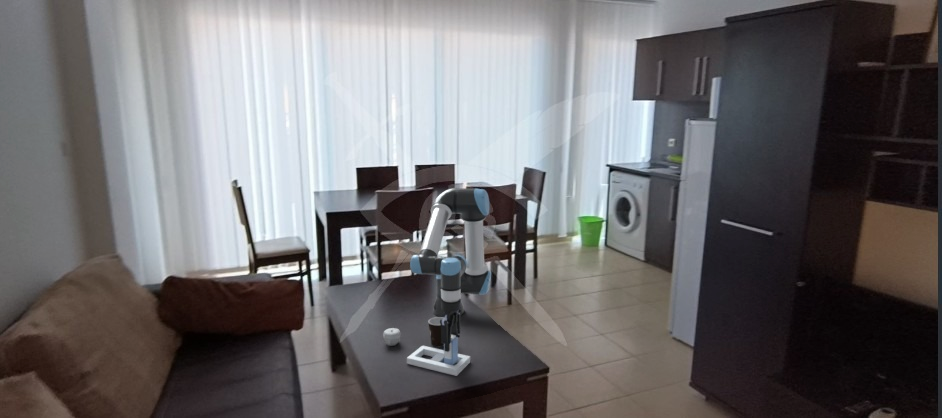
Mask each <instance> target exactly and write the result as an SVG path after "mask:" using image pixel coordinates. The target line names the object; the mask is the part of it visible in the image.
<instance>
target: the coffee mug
mask: <svg viewBox="0 0 942 418" xmlns="http://www.w3.org/2000/svg"><path fill="white" fill-rule="evenodd" d="M443 319H444V317H439V316H436V317H432V318H430V319H428V321H427V322H428V330H429V334H430V335H429V336H430V343H431V346H433V347H444V343H441V324H440V320H443Z"/></svg>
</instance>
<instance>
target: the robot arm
mask: <svg viewBox="0 0 942 418" xmlns="http://www.w3.org/2000/svg"><path fill="white" fill-rule="evenodd" d="M430 213H431V215H430V218H429V221H428V224H427V227H426V231H425V233H424V238H423V240H422V243H421V247H420V249H419V250H420V251H419V253H418V254H413V255H412V256H411V259H410V264H409V267H410V271H411V273H412V274H417V275H429V276H430V275H431V276H433V275H435V276H436V277H435V281H436V283H435V284H436V298H435V301H434V304H433V306H432V307H433V308H432V312H433V314H434V315H435V316H436V317H443V318H444V319H443V320H440V324H441V343H444V344H445V358H447V359H452V343H450V342H451V334H452V335H456V337H458V339H459V338H460V337H461V335H460V334H461V316H462V314H464V313H465V312H464V310H465V306H464V304H463V301H462V299H461V297H462V294H468V295H470V294H471V295H478V296H479V295H482V296H483V295H487V294H488V293H489V289H490V285H491V280H492V279H491V277H492V271H491V270H489V269H488V265H487V264H485V248H484V246H485V245H484V241H485V240H484V221H485V220H486V218H487V216H488V215H489V214H490V198H489V194H488V192H487V190H485V189H483V188H481V189H480V188H478V187H477V188H476V187H475V188H459V187H458V188H457V187H453V188H448V189H446V190H444V191H443V192H441V193H440V194H439V195H438V196H437V197H436V198H435V199H434V201H433V202H432V204H431V207H430ZM454 214H456V215H460V219H461V220H462V221H463V223H464V240H465V241H464V244H465V256H463V255H462V254H454V255H453V256H439V253H440V249H441V245H442V241H443V239H444V238H443V237H444V235H445V231H446V227H447V224H448V220H449V219H450V218H451V217H452V215H454Z"/></svg>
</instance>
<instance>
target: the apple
mask: <svg viewBox="0 0 942 418" xmlns="http://www.w3.org/2000/svg"><path fill="white" fill-rule="evenodd" d="M382 337H383V340H384V342H385V343H386V345H387V346H389V347H390V346H391V347H393V346H396V345H397V344H399V342H400V340H401V337H402V333H401V331H400V329H399V328H397V327H395V328H394V327H390V328H387V329H385V330H384V331H383V332H382Z"/></svg>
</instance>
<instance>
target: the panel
mask: <svg viewBox="0 0 942 418" xmlns="http://www.w3.org/2000/svg"><path fill="white" fill-rule="evenodd" d="M422 356H429V357H430V359H428V358H424V357H422ZM431 357H432V358H431ZM470 363H471V355H467V354H461V353H458V361H457V362H456V363H455V364H454V365H450V364H446V363H444V349H441V348H440V349H439V348H437V347H432V346H426V345H421V346H420V347H419V348H417V349H416V350H415V351H414V352H412V353H411V354H410V355H409V356H407V357H406V364H407V365H411V366H415V367H419V368H423V369H426V370H432V371H435V372H439V373H442V374H447V375H451V376H456V377H457V376H458V375H459V374H460V373H462V371H463V370H464V369H465V368H466V367H467V366H468V365H469V364H470Z"/></svg>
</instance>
